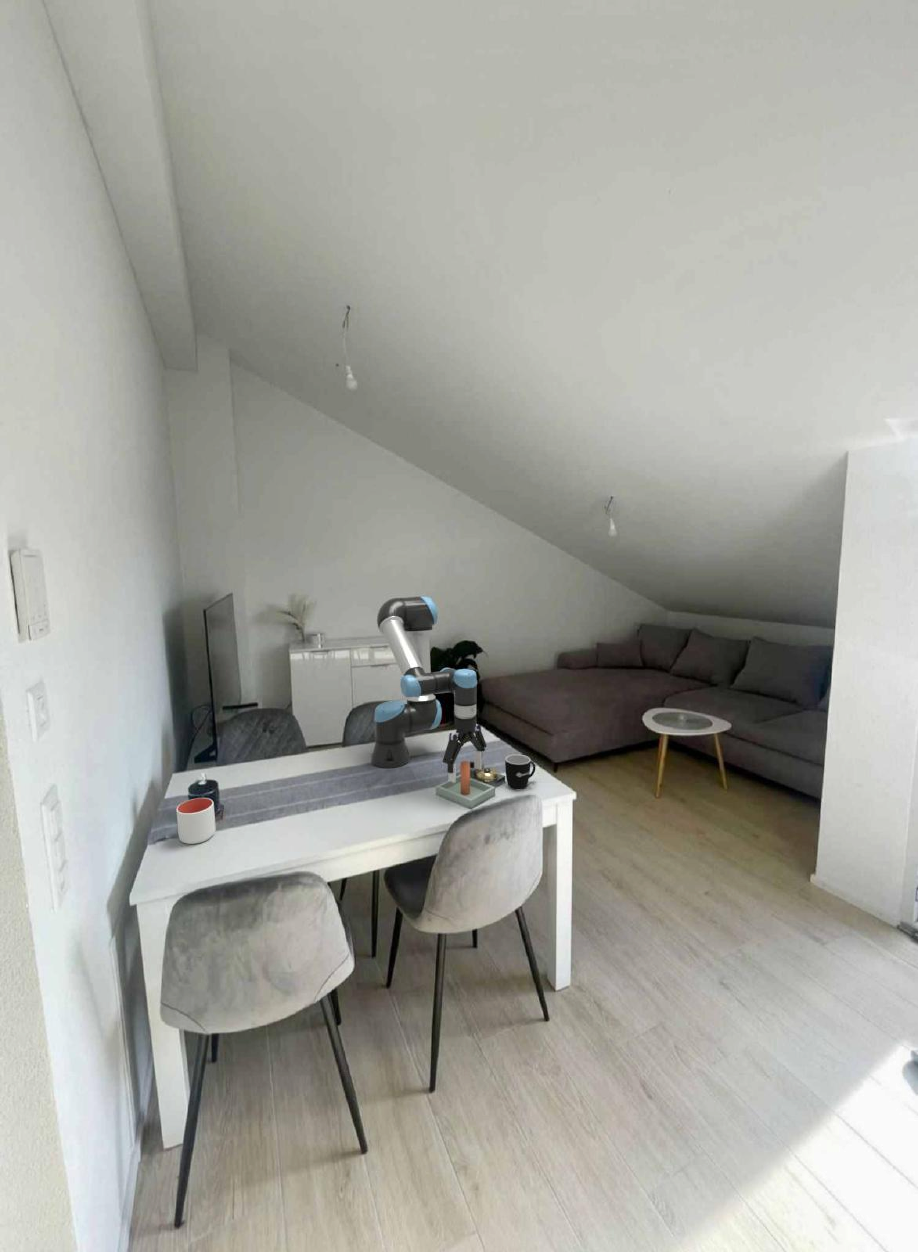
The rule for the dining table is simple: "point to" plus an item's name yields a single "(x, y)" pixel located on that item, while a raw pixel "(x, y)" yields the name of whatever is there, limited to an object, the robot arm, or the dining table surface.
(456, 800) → the tray
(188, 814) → the cup
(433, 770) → the dining table surface
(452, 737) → the robot arm
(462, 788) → the pin
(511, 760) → the mug
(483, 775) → the pulley block
